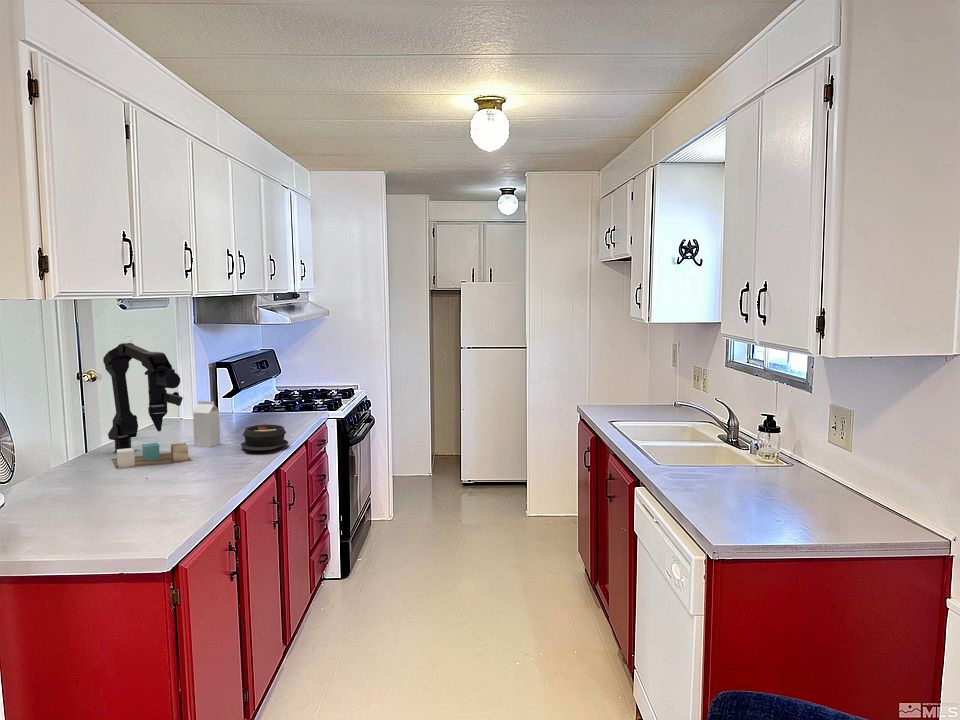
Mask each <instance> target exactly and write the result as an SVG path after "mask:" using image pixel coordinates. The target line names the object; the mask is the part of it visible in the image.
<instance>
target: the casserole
mask: <svg viewBox="0 0 960 720" xmlns="http://www.w3.org/2000/svg"><path fill="white" fill-rule="evenodd" d="M286 433H287V431H286V430H285V428H284V426H283V425H278V424H257V425H250V426H247V427H245V428H244V431H243V433H242V435H243V437H244V440H245V441H243V442H241V444H240V446H241V447H242V448H244V450H246V451H251V452H252V451H253V452H266V451H273V450H277V449H280V448H283V447H284V446H286V445H288V444H289V440H286V439H285V435H286Z"/></svg>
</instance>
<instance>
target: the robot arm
mask: <svg viewBox="0 0 960 720" xmlns="http://www.w3.org/2000/svg"><path fill="white" fill-rule="evenodd" d="M133 359H134V360H136V361H139V362H140V363H141V366H142V367H143V368H145V369H146V371H145V372H144V375H145V376H147V385H148V386H147V387H148V392H147V393H148V408H147V410H148V411H147V412H148V416H149V418H150V419H151V421H152V424H153V425H154V427H155V429H156V431H157V432H161V431H162V426H163V420H164V417H165V416H166V415H167V414H168V404H172V405H176V406H177V407H180V406H181V404H182V401H183V399H184V398H183V396H181V395H180V394H179V392H178V391H174V392H173V393H169V392H168V391H167V389H176V388H178V386H180V384H181V378H180V375H179V374H178V373H176V371H175V369H174V368H173V366H172V364H171V362H170V361H169V359H168V357H167V355H166V353H164V352H161V351H160V352H159V351H151V350H150V351H149V350H147V349H144V348H142V347H140V346H138V345H135V344H134V343H132V342H125V343H120V344H118V345H117V346H116V347H114V348H112V349H111V350H108V351H107V353H105V355H104V356H103V358H102V361H103V364H104V367H105V370H106V372H107V373H108V374H109V375H110V377H111V385H112V391H113V398H114V405H115V415H114V417H113V419H112V427H111V429H110V430H109V432H108V433H107V436H108V439H109V440H111V441H114V451H113V453H117V449H127V448H132V438H136V437H137V434H138V430H139V423H138V416H137V415H136V414H133V413H132V411H131V406H130V399H129V391H128V384H127V383H128V382H127V375H126V374H127V372H128V370H129V368H130V361H131V360H133Z"/></svg>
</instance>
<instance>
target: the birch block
mask: <svg viewBox="0 0 960 720" xmlns="http://www.w3.org/2000/svg"><path fill="white" fill-rule="evenodd" d="M170 453H171V459H172V460H173V461H182V460H188V457H189V445H188V444H187V443H186V442H178V443H170Z"/></svg>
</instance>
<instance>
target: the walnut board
mask: <svg viewBox="0 0 960 720" xmlns="http://www.w3.org/2000/svg"><path fill="white" fill-rule="evenodd" d="M159 455H160V460H154V461H144V460H143V455H134V460H135V466H129V467H120V468H119V467H118V465H117V457H116V458H110V460H111V462H112V464H113V466H114V467H115V469H116V470H125V469H134V468H135V469H136V468H142V467H144V468H145V467H151V466H152V467H153V466H160V465H169V464H176V463H177V464H178V463H179V464H180V463H184V462H185V463H186V462H187V463H188V462H193V459H192V458H191V457H189V456H188V460H182V461H173V460H172V459H171V452H162V453H159Z"/></svg>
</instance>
